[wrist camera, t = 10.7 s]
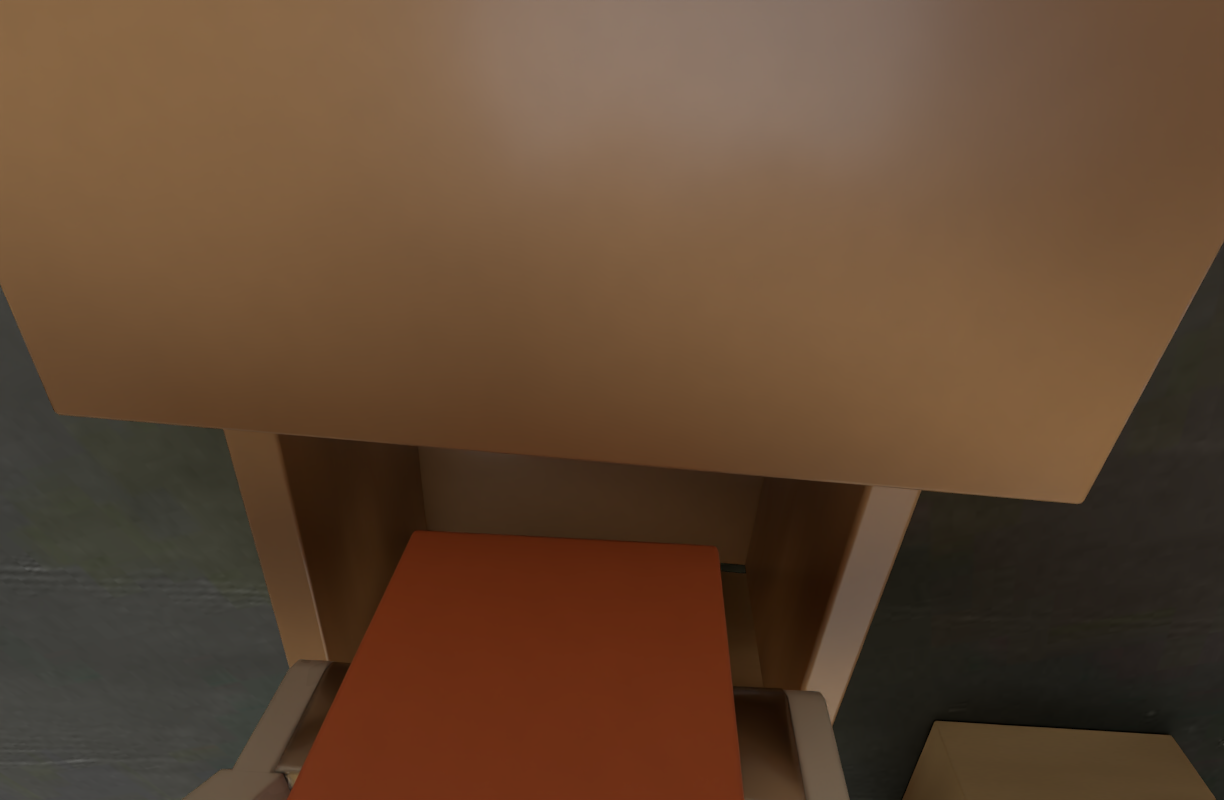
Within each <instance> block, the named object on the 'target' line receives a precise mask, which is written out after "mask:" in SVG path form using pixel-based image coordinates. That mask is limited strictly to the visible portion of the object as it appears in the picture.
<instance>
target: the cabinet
mask: <svg viewBox="0 0 1224 800" xmlns="http://www.w3.org/2000/svg"><path fill="white" fill-rule="evenodd" d="M1223 242H1224V0H0V285H1V287H2V289H3V292H4V294H5V296H6V299H7V301H8V304H9V306H10V308H11V311H12V313H13V315H14V318H15V320H16V322H17V325H18V327H19V329H20V332H21V334H22V337H23V339H24V341H25V344H26V346H27V348H28V351H29V353H30V355H31V358H32V360H33V362H34V365H35V367H36V370H37V372H38V374H39V377H40V379H41V381H42V384H43V386H44V388H45V391H46V393H47V395H48V398H49V400H50V403H51V405H52V407H53V410H54V411H55V412H56V413H57V414H59V415H68V416H79V417H91V418H102V419H113V420H125V421H136V422H148V423H159V424H170V425H182V426H193V427H205V428H216V429H228V430H239V431H250V432H262V433H273V434H285V435H296V436H307V437H319V438H330V439H342V440H353V441H365V442H376V443H387V444H399V445H410V446H422V447H433V448H444V449H456V450H467V451H479V452H490V453H501V454H513V455H524V456H536V457H547V458H559V459H570V460H581V461H593V462H604V463H616V464H627V465H638V466H650V467H661V468H673V469H684V470H696V471H707V472H718V473H730V474H741V475H753V476H764V477H775V478H787V479H798V480H810V481H821V482H833V483H844V484H855V485H867V486H878V487H890V488H901V489H912V490H924V491H935V492H947V493H958V494H970V495H981V496H992V497H1004V498H1015V499H1027V500H1038V501H1049V502H1061V503H1072V504H1080V503H1082V502H1083V501H1084V500H1085V498H1086V496H1087V494H1088V493H1089V491H1090V489H1091V487H1092V485H1093V483H1094V481H1095V480H1096V478H1097V476H1098V474H1099V472H1100V470H1101V468H1102V467H1103V465H1104V463H1105V461H1106V459H1107V457H1108V455H1109V454H1110V452H1111V450H1112V448H1113V446H1114V444H1115V442H1116V441H1117V439H1118V437H1119V435H1120V433H1121V431H1122V429H1123V428H1124V426H1125V424H1126V422H1127V420H1128V418H1129V416H1130V415H1131V413H1132V411H1133V409H1134V407H1135V405H1136V403H1137V402H1138V400H1139V398H1140V396H1141V394H1142V392H1143V391H1144V389H1145V387H1146V385H1147V383H1148V381H1149V379H1150V378H1151V376H1152V374H1153V372H1154V370H1155V368H1156V366H1157V365H1158V363H1159V361H1160V359H1161V357H1162V355H1163V353H1164V352H1165V350H1166V348H1167V346H1168V344H1169V342H1170V340H1171V339H1172V337H1173V335H1174V333H1175V331H1176V329H1177V327H1178V326H1179V324H1180V322H1181V320H1182V318H1183V316H1184V314H1185V313H1186V311H1187V309H1188V307H1189V305H1190V303H1191V301H1192V300H1193V298H1194V296H1195V294H1196V292H1197V290H1198V289H1199V287H1200V285H1201V283H1202V281H1203V279H1204V277H1205V276H1206V274H1207V272H1208V270H1209V268H1210V266H1211V264H1212V263H1213V261H1214V259H1215V257H1216V255H1217V253H1218V251H1219V250H1220V248H1221V246H1222V244H1223Z"/></svg>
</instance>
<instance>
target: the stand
mask: <svg viewBox="0 0 1224 800" xmlns="http://www.w3.org/2000/svg"><path fill="white" fill-rule="evenodd" d="M902 800H1216V798H1215V797H1214V796H1213V794H1212V793H1211V791H1210V790H1209V788H1208V787H1207V786H1206V784H1205V783H1204V781H1203V780H1202V778H1201V777H1200V776H1199V774H1198V773H1197V771H1196V770H1195V768H1194V767H1193V766H1192V764H1191V763H1190V761H1189V760H1188V758H1187V757H1186V756H1185V754H1184V753H1183V751H1182V750H1181V748H1180V747H1179V746H1178V744H1177V743H1176V741H1175V740H1174V738H1173V737H1172V736H1171V735H1160V734H1144V733H1128V732H1112V731H1095V730H1079V729H1063V728H1047V727H1030V726H1014V725H998V724H982V723H965V722H949V721H934V724H933V726H932V729H931V731H930V733H929V736H928V738H927V741H926V743H925V746H924V748H923V750H922V753H921V755H920V758H919V760H918V763H917V765H916V767H915V770H914V772H913V775H912V777H911V780H910V782H909V784H908V787H907V789H906V792H905V794H904V797H903V799H902Z"/></svg>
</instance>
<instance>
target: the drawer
mask: <svg viewBox="0 0 1224 800" xmlns="http://www.w3.org/2000/svg"><path fill="white" fill-rule="evenodd" d="M223 430H224V434H225V437H226V441H227V445H228V448H229V452H230V455H231V459H232V463H233V466H234V470H235V473H236V477H237V481H238V484H239V488H240V491H241V495H242V499H243V502H244V506H245V509H246V513H247V517H248V520H249V524H250V527H251V531H252V535H253V538H254V542H255V545H256V549H257V553H258V556H259V560H260V564H261V567H262V571H263V574H264V578H265V582H266V585H267V589H268V592H269V596H270V600H271V603H272V607H273V610H274V614H275V618H276V621H277V625H278V628H279V632H280V636H281V639H282V643H283V646H284V650H285V654H286V657H287V661H288V664H289V668H291V667H292V666H293V665H294V664H295V663H296V662H297V661H298V660H299V659H306V660H322V661H335V662H345V663H351V662H352V660H353V658H354V656H355V654H356V652H357V650H358V648H359V646H360V643H361V641H362V639H363V637H364V635H365V633H366V631H367V629H368V626H369V624H370V622H371V620H372V618H373V616H374V614H375V612H376V610H377V607H378V605H379V603H380V601H381V599H382V597H383V595H384V593H385V590H386V588H387V586H388V584H389V582H390V580H391V578H392V576H393V573H394V571H395V569H396V567H397V565H398V563H399V561H400V559H401V557H402V554H403V552H404V550H405V548H406V546H407V544H408V542H409V540H410V537H411V535H412V533H413V532H414V531H416V530H430V531H449V532H468V533H487V534H507V535H526V536H545V537H564V538H583V539H603V540H622V541H641V542H660V543H680V544H699V545H713V546H716V547H717V549H718V552H719V560H720V563H729V564H740V565H745V569H746V574H745V573H734V572H723V571H721V579H722V589H723V598H724V608H725V617H726V627H727V637H728V646H729V656H730V665H731V675H732V684H733V686H742V687H764V688H782V689H783V690H801V691H819V692H821V693H822V695H823V697H824V698H825V700H826V704H827V708H828V712H829V716H830V720H831V724H832V726H833V723H834V720H835V718H836V715H837V713H838V710H839V707H840V705H841V702H842V699H843V697H844V694H845V691H846V689H847V686H848V683H849V681H850V678H851V675H852V673H853V670H854V667H855V665H856V662H857V660H858V657H859V654H860V652H861V649H862V646H863V644H864V641H865V638H866V636H867V633H868V630H869V628H870V625H871V622H872V620H873V617H874V614H875V612H876V609H877V607H878V604H879V601H880V599H881V596H882V593H883V591H884V588H885V585H886V583H887V580H888V577H889V575H890V572H891V569H892V567H893V564H894V561H895V559H896V556H897V554H898V551H899V548H900V546H901V543H902V540H903V538H904V535H905V532H906V530H907V527H908V524H909V522H910V519H911V516H912V514H913V511H914V508H915V506H916V503H917V501H918V498H919V495H920V493H921V490H912V489H901V488H890V487H878V486H867V485H855V484H844V483H833V482H821V481H810V480H798V479H787V478H775V477H764V476H753V475H741V474H730V473H718V472H707V471H696V470H684V469H673V468H661V467H650V466H638V465H627V464H616V463H604V462H593V461H581V460H570V459H559V458H547V457H536V456H524V455H513V454H501V453H490V452H479V451H467V450H456V449H444V448H433V447H422V446H410V445H399V444H387V443H376V442H365V441H353V440H342V439H330V438H319V437H307V436H296V435H285V434H273V433H262V432H250V431H239V430H228V429H223Z"/></svg>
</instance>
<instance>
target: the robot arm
mask: <svg viewBox="0 0 1224 800" xmlns="http://www.w3.org/2000/svg"><path fill="white" fill-rule="evenodd" d="M350 665H351V663H345V662H335V661H322V660H306V659H299V660H298V661H297V662H296V663H295V664H294V665H293V666H292V667H291V668H290V669H289V670H288V671H287V673H286V675H285V677H284V678H283V680H282V682H281V684H280V685H279V687H278V689H277V691H276V692H275V694H274V696H273V698H272V700H271V701H270V703H269V705H268V707H267V708H266V710H265V712H264V714H263V715H262V717H261V719H260V721H259V723H258V724H257V726H256V728H255V730H254V731H253V733H252V735H251V737H250V738H249V740H248V742H247V744H246V746H245V747H244V749H243V751H242V753H241V754H240V756H239V758H238V760H237V761H236V763H235V765H234V767H233V769H221V770H219V771H218V772H217V773H215V774H214V775H213V776H212V777H210V778H209V779H208V780H206V781H205V782H204V783H202V784H201V785H200V786H199V787H197V788H196V789H195V790H193V791H192V792H191V793H190V794H188V795H187V796H186V797H184V798H183V799H182V800H287V798H288V796H289V794H290V792H291V790H292V787H293V785H294V783H295V781H296V779H297V777H298V775H299V773H300V770H301V768H302V766H303V764H304V762H305V760H306V758H307V756H308V754H309V751H310V749H311V747H312V745H313V743H314V741H315V739H316V737H317V734H318V732H319V730H320V728H321V726H322V724H323V722H324V720H325V718H326V715H327V713H328V711H329V709H330V707H331V705H332V703H333V701H334V698H335V696H336V694H337V692H338V690H339V688H340V686H341V684H342V682H343V679H344V677H345V675H346V673H347V671H348V669H349V667H350ZM733 694H734V704H735V713H736V723H737V732H738V742H739V751H740V761H741V771H742V780H743V790H744V799H745V800H850V799H849V795H848V791H847V787H846V782H845V778H844V774H843V770H842V766H841V762H840V757H839V753H838V749H837V745H836V741H835V737H834V733H833V728H832V724H831V720H830V716H829V712H828V708H827V704H826V700H825V698H824V697H823V695H822V693H821V692H819V691H801V690H783V689H782V688H764V687H742V686H733Z"/></svg>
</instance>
